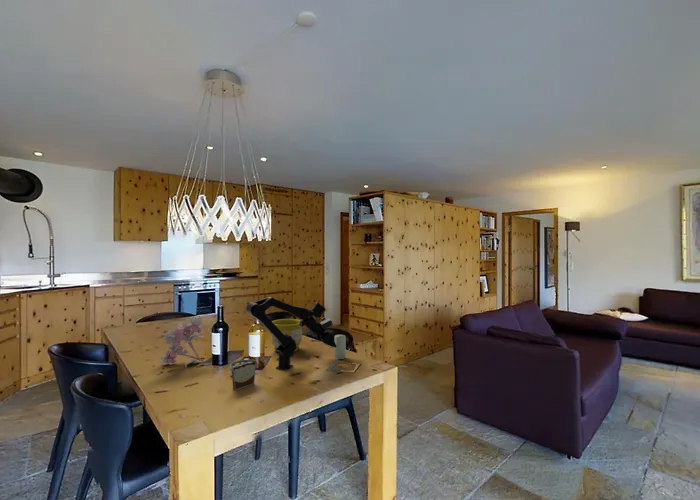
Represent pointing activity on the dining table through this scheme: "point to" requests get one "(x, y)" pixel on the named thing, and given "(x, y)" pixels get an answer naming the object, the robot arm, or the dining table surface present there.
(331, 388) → the dining table surface
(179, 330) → the flower
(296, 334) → the flowerpot
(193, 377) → the dining table surface
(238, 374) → the food container
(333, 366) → the dot frame
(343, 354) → the sage cup
